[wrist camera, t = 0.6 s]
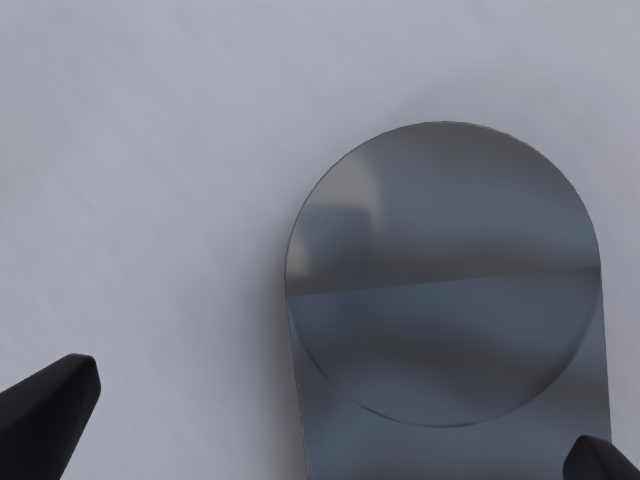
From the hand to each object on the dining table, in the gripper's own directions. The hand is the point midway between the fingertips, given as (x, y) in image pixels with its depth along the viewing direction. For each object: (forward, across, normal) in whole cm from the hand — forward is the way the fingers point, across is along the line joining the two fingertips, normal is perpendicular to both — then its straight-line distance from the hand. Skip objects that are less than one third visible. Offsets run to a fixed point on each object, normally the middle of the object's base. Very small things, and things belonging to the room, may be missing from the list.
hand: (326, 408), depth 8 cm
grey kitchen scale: (+10, -5, +10) cm, 16 cm away
